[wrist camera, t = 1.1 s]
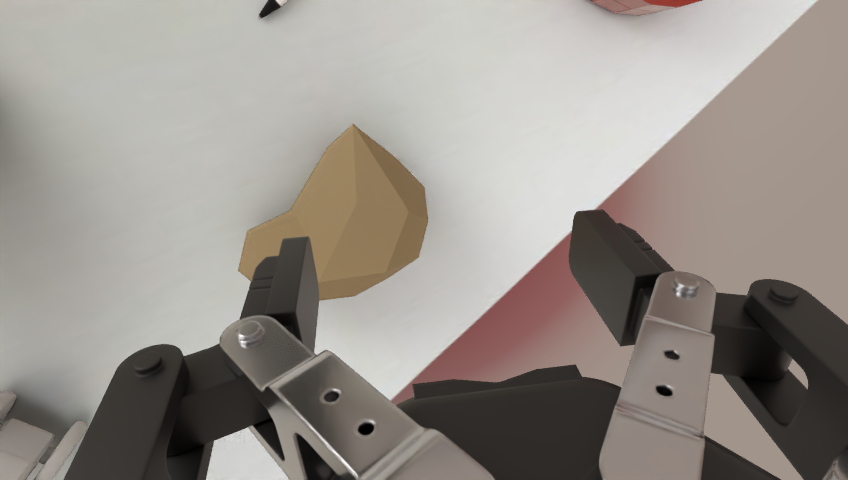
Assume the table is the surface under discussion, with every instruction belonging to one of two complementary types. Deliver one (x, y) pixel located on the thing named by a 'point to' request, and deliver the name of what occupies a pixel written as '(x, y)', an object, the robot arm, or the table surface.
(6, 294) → the table surface
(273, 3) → the pen
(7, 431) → the pony
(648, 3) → the bowl
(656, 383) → the robot arm
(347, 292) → the low-poly potato
